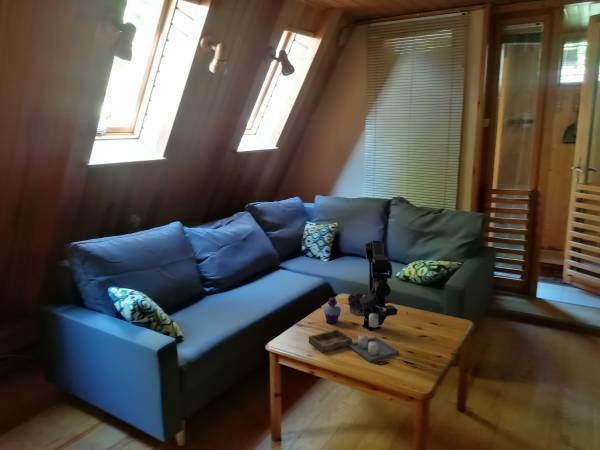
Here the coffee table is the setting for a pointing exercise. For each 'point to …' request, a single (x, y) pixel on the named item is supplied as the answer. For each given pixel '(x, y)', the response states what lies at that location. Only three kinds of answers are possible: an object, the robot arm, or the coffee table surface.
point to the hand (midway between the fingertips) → (377, 323)
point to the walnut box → (330, 341)
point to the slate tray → (383, 350)
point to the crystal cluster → (355, 304)
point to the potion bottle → (332, 311)
